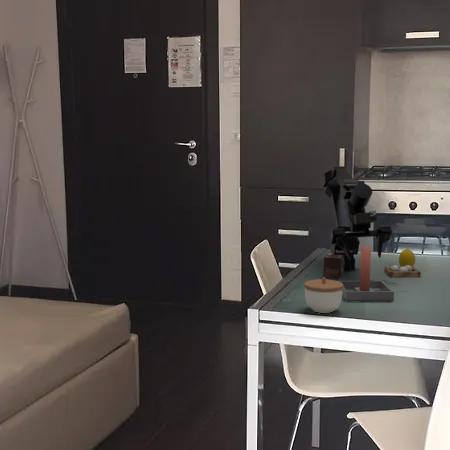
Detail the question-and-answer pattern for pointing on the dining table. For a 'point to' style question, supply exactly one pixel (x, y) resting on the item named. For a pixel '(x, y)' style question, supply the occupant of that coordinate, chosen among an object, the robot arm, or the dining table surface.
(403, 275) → the pebble tray
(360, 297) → the bin
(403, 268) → the grey ball
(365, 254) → the red post on base
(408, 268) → the pebble
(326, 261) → the box
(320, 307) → the lidded jar
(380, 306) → the dining table surface
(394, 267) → the grey sphere
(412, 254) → the lemon
